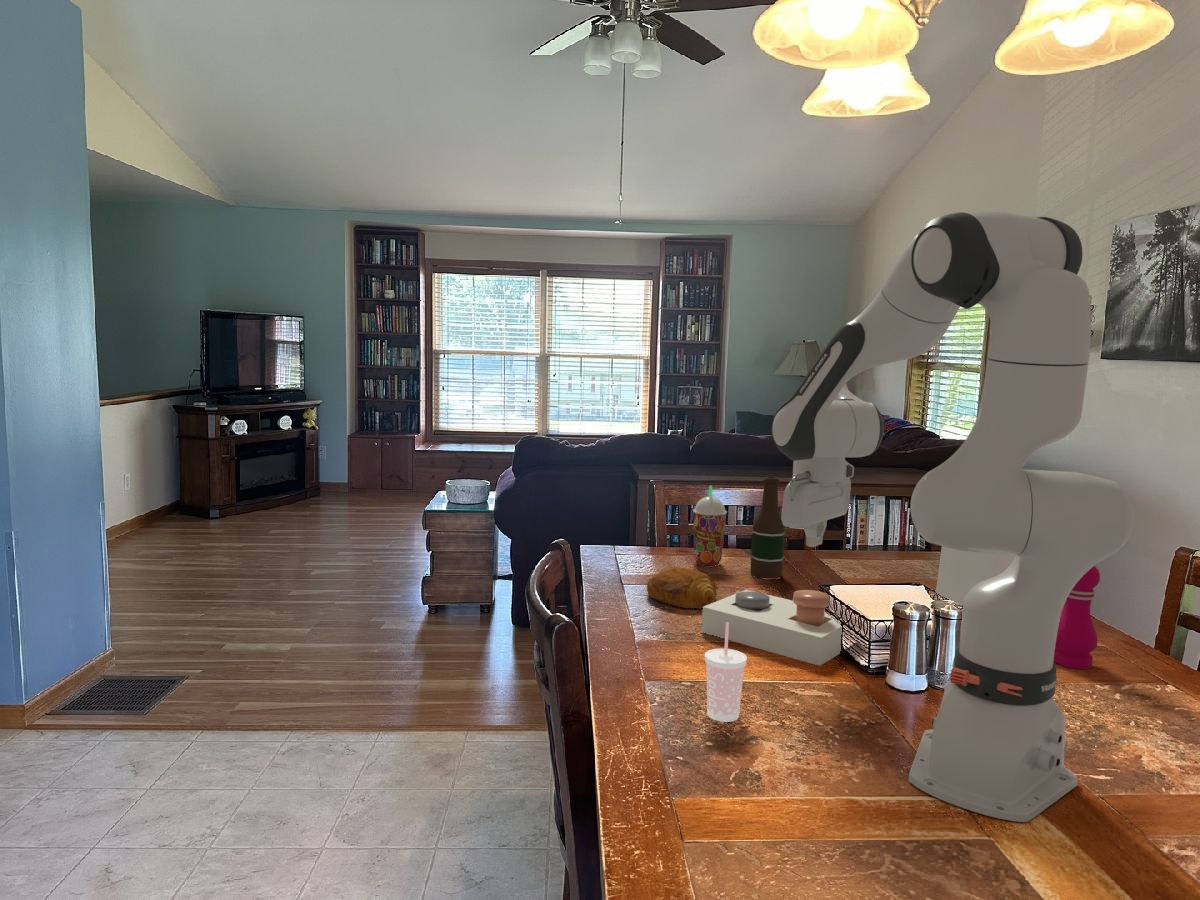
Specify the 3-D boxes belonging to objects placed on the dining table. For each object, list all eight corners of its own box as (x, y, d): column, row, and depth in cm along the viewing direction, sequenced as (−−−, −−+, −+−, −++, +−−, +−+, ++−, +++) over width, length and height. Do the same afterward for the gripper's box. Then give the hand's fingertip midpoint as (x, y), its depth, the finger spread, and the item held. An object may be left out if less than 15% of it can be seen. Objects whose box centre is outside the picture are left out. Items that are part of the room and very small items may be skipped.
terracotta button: (818, 638, 146) (820, 602, 145) (785, 629, 150) (787, 594, 149) (833, 629, 151) (835, 594, 150) (801, 621, 155) (803, 587, 154)
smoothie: (689, 567, 203) (693, 487, 201) (691, 559, 211) (694, 482, 209) (724, 569, 202) (727, 489, 199) (724, 561, 210) (728, 484, 208)
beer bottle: (785, 580, 193) (791, 480, 190) (752, 579, 193) (757, 479, 190) (779, 572, 201) (784, 475, 198) (747, 571, 201) (752, 474, 198)
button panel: (819, 665, 141) (821, 637, 140) (701, 632, 156) (702, 606, 155) (857, 642, 153) (859, 616, 152) (744, 613, 168) (745, 589, 167)
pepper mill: (1101, 672, 141) (1113, 558, 139) (1056, 668, 142) (1066, 555, 140) (1086, 657, 148) (1096, 548, 146) (1042, 653, 149) (1052, 546, 147)
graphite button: (757, 637, 154) (759, 603, 153) (727, 629, 158) (729, 596, 157) (773, 629, 159) (775, 596, 158) (744, 621, 163) (746, 589, 162)
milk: (931, 620, 167) (941, 494, 164) (952, 608, 175) (962, 488, 172) (994, 635, 159) (1005, 502, 156) (1013, 621, 167) (1024, 496, 164)
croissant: (685, 625, 167) (690, 588, 165) (634, 596, 178) (638, 562, 176) (732, 610, 176) (737, 575, 174) (680, 583, 187) (684, 551, 185)
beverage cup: (694, 709, 122) (698, 618, 120) (729, 703, 125) (733, 614, 123) (715, 727, 117) (720, 631, 115) (752, 720, 119) (757, 627, 117)
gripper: (808, 477, 137) (804, 558, 138) (858, 466, 152) (853, 539, 154) (774, 472, 141) (770, 551, 142) (826, 463, 156) (822, 534, 158)
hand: (814, 545), depth 148 cm, fingers closed
